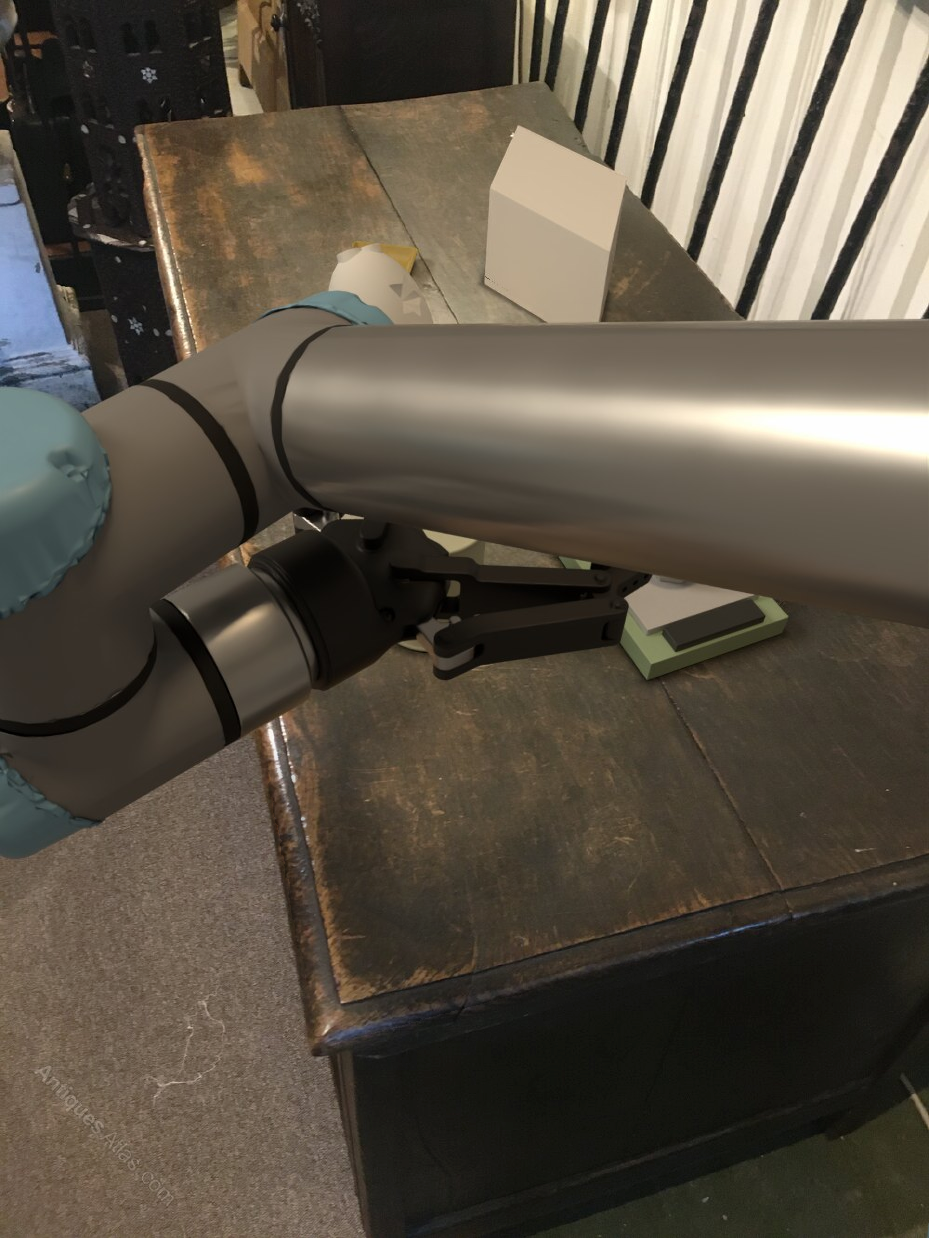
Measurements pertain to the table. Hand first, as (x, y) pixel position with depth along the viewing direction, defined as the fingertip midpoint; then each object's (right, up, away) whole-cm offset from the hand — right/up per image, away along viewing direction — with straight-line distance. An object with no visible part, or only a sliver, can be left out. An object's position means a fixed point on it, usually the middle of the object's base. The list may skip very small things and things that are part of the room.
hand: (593, 464), depth 57 cm
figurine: (-17, +18, +53) cm, 59 cm away
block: (+4, +35, +70) cm, 78 cm away
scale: (+11, -7, +32) cm, 35 cm away
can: (-11, -9, +30) cm, 33 cm away
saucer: (-18, +35, +69) cm, 80 cm away
